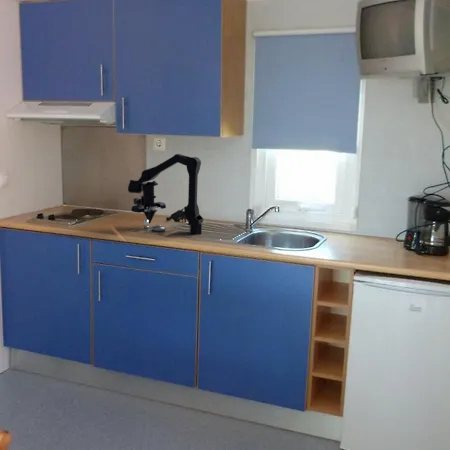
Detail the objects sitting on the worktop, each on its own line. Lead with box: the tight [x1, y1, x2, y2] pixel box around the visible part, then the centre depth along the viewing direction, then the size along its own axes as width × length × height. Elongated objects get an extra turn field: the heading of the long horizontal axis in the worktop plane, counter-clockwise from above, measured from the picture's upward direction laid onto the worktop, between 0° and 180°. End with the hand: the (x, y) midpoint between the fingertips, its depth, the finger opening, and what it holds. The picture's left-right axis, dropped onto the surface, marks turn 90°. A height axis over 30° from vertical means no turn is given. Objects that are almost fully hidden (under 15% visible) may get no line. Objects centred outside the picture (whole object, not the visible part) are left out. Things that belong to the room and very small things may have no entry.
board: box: [129, 226, 182, 237], centre depth 279 cm, size 22×16×1 cm
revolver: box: [165, 207, 187, 224], centre depth 307 cm, size 3×18×12 cm
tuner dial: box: [143, 218, 167, 232], centre depth 278 cm, size 12×7×5 cm, turn 72°
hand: (149, 223), depth 281 cm, fingers closed
